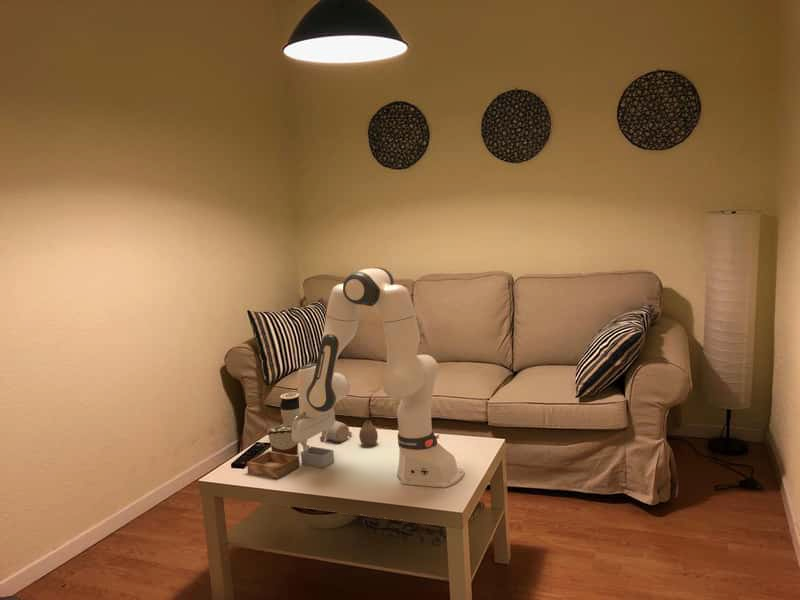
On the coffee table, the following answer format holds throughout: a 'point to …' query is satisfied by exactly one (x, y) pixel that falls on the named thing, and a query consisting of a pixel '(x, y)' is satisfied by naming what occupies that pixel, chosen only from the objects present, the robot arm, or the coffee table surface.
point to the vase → (368, 434)
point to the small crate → (317, 457)
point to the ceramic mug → (338, 432)
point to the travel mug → (289, 407)
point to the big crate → (273, 464)
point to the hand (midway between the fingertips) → (315, 446)
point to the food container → (282, 440)
